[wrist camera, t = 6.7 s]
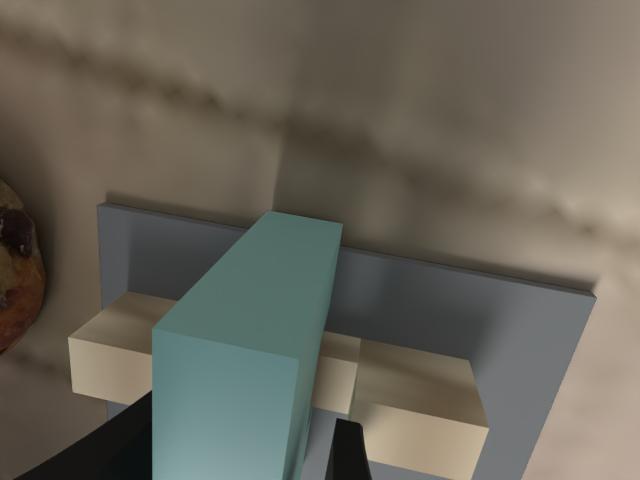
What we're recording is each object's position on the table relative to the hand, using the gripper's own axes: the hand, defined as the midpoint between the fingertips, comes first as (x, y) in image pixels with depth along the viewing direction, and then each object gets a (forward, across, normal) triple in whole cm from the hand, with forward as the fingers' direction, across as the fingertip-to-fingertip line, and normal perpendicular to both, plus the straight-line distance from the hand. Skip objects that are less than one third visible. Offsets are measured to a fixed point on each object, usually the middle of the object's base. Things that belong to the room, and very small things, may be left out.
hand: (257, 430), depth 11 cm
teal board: (+4, 0, 0) cm, 4 cm away
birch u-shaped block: (+4, 0, 0) cm, 4 cm away
